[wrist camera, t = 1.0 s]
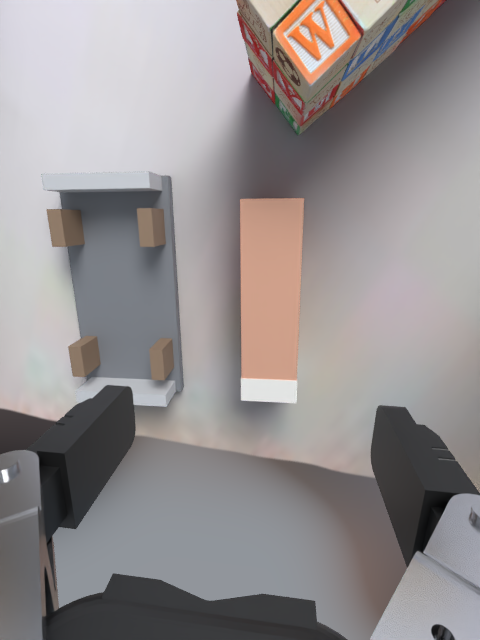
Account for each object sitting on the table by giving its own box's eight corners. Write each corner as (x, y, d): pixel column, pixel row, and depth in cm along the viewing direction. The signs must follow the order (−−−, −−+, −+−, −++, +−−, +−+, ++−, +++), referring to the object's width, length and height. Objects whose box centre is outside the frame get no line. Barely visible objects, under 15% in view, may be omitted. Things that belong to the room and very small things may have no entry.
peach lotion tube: (300, 201, 30) (304, 197, 24) (293, 371, 34) (296, 403, 29) (247, 202, 30) (239, 198, 25) (247, 370, 35) (241, 400, 29)
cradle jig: (171, 177, 31) (155, 171, 27) (183, 387, 36) (172, 406, 32) (64, 179, 32) (34, 174, 28) (92, 382, 37) (71, 401, 34)
